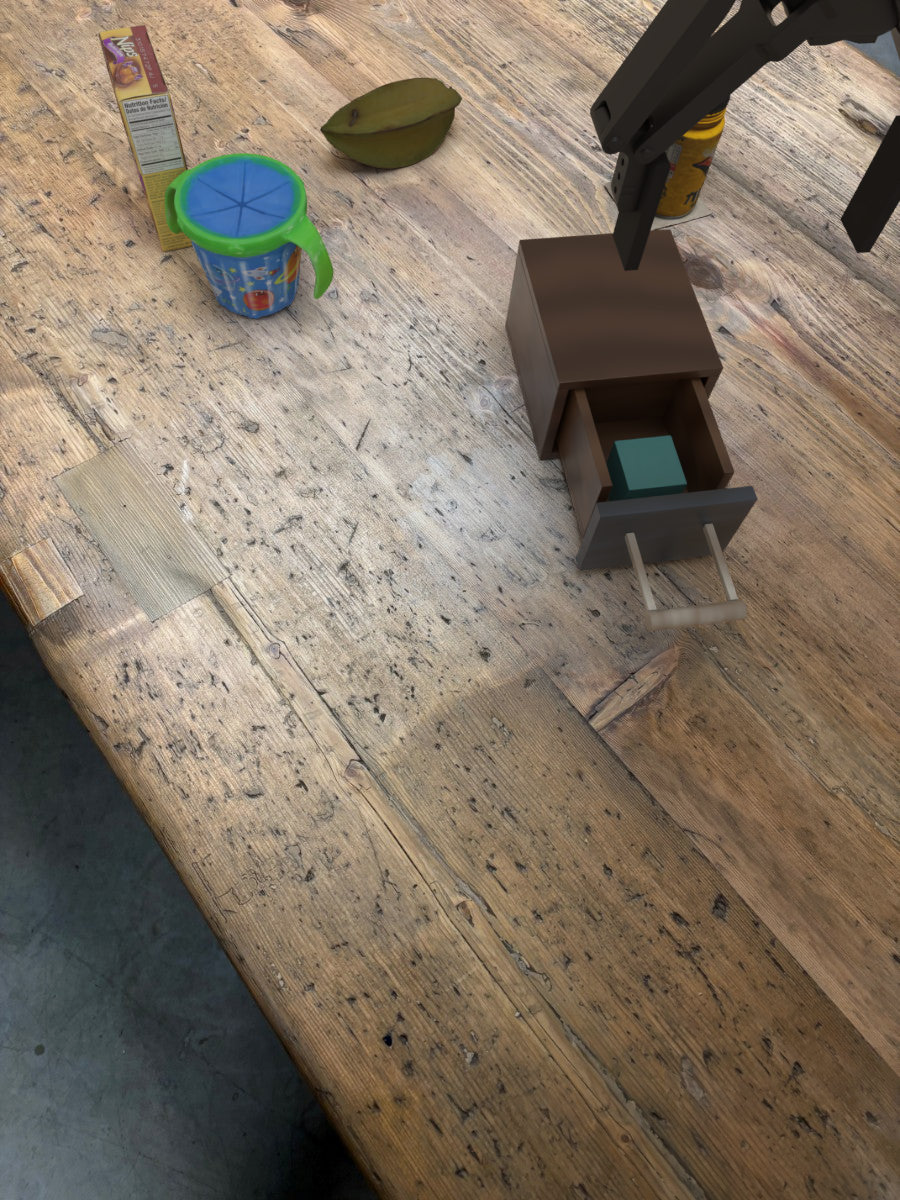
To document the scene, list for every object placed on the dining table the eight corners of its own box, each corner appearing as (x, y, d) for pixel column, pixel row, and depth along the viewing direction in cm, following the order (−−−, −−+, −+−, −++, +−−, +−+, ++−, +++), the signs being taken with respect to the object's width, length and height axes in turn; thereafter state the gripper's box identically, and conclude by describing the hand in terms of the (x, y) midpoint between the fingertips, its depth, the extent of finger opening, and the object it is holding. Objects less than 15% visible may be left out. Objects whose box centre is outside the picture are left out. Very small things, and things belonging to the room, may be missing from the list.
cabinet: (686, 445, 79) (723, 368, 70) (539, 461, 77) (559, 383, 68) (641, 315, 85) (670, 228, 77) (504, 326, 84) (519, 239, 75)
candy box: (139, 189, 88) (95, 28, 75) (184, 181, 89) (149, 21, 76) (159, 254, 85) (116, 98, 71) (206, 245, 86) (173, 89, 72)
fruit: (440, 196, 91) (444, 135, 85) (320, 172, 91) (316, 110, 85) (463, 122, 96) (468, 59, 90) (349, 100, 96) (347, 36, 90)
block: (670, 516, 73) (687, 483, 69) (615, 522, 72) (629, 490, 68) (655, 469, 75) (670, 435, 71) (601, 474, 74) (614, 440, 70)
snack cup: (149, 283, 83) (121, 187, 74) (228, 219, 87) (210, 120, 78) (285, 368, 80) (273, 278, 71) (361, 296, 84) (358, 203, 75)
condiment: (712, 214, 92) (755, 101, 81) (638, 235, 90) (673, 122, 79) (675, 167, 95) (712, 52, 84) (602, 186, 93) (631, 70, 82)
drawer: (752, 643, 70) (793, 594, 63) (602, 663, 68) (628, 616, 61) (674, 416, 79) (703, 352, 72) (541, 429, 77) (557, 365, 70)
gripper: (1200, -278, 36) (920, 184, 55) (584, -282, 33) (510, 211, 52) (1310, -179, 33) (972, 276, 52) (638, -172, 30) (538, 311, 49)
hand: (741, 244), depth 52 cm, fingers open, 13 cm apart
